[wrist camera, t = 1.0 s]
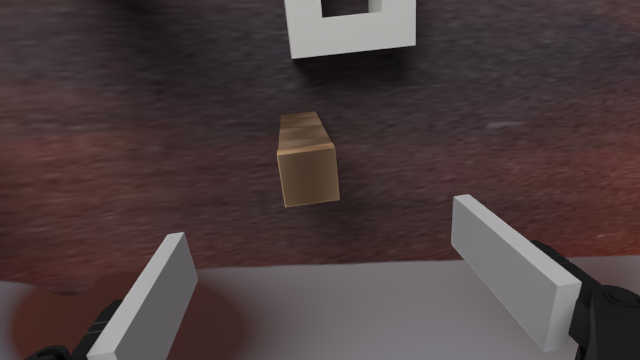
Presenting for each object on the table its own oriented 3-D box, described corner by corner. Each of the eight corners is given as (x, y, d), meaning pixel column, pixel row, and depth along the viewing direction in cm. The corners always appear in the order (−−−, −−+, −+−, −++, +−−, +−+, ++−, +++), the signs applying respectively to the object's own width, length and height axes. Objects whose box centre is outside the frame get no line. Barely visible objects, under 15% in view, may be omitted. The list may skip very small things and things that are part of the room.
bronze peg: (285, 148, 39) (285, 207, 24) (280, 114, 37) (277, 154, 23) (319, 144, 39) (339, 199, 24) (315, 110, 38) (335, 147, 23)
